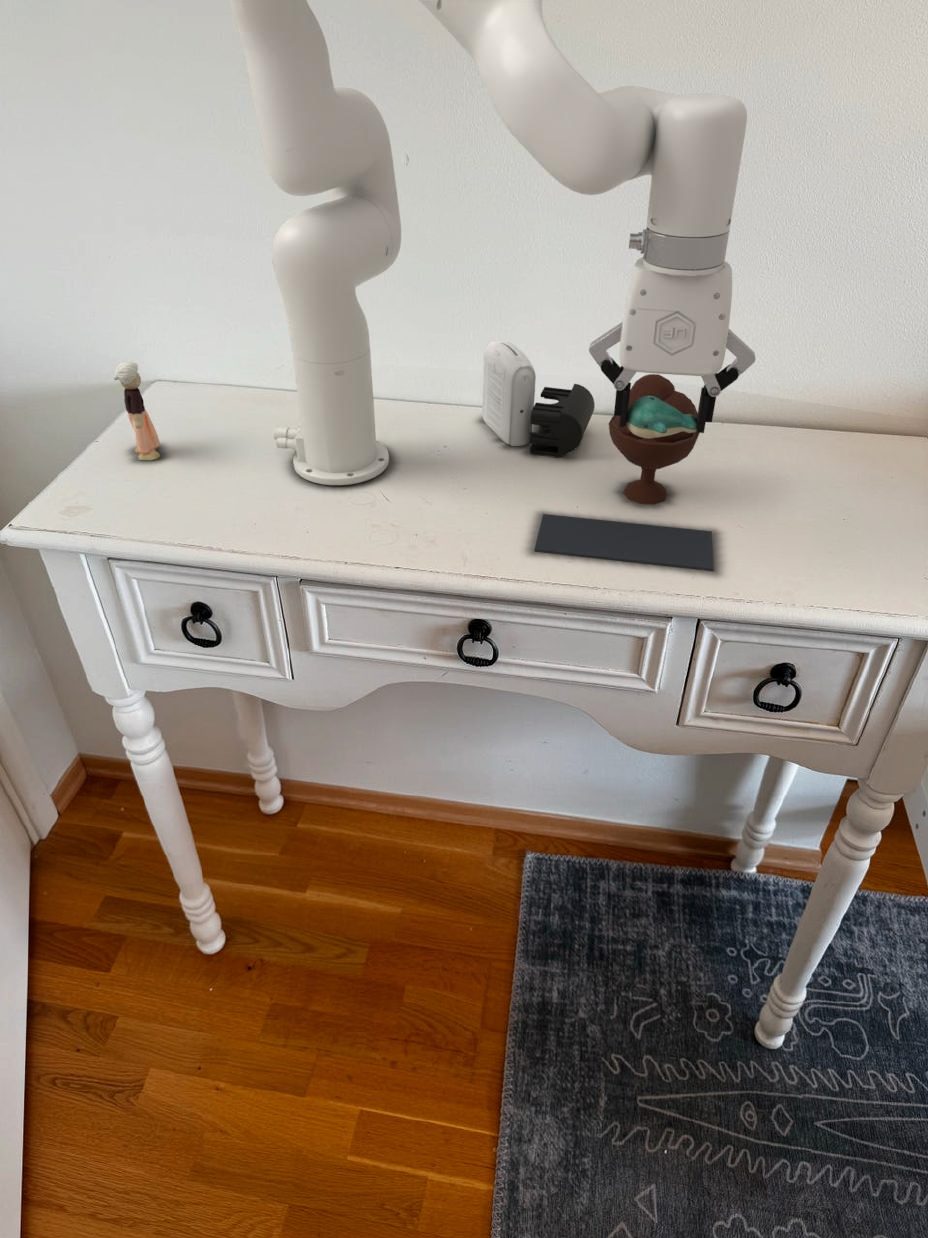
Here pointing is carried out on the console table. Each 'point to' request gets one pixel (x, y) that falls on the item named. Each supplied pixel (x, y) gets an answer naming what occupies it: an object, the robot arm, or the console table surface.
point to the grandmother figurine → (137, 411)
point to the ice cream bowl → (653, 440)
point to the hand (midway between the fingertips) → (661, 423)
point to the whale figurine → (657, 419)
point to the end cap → (561, 421)
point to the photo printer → (508, 392)
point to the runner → (626, 542)
